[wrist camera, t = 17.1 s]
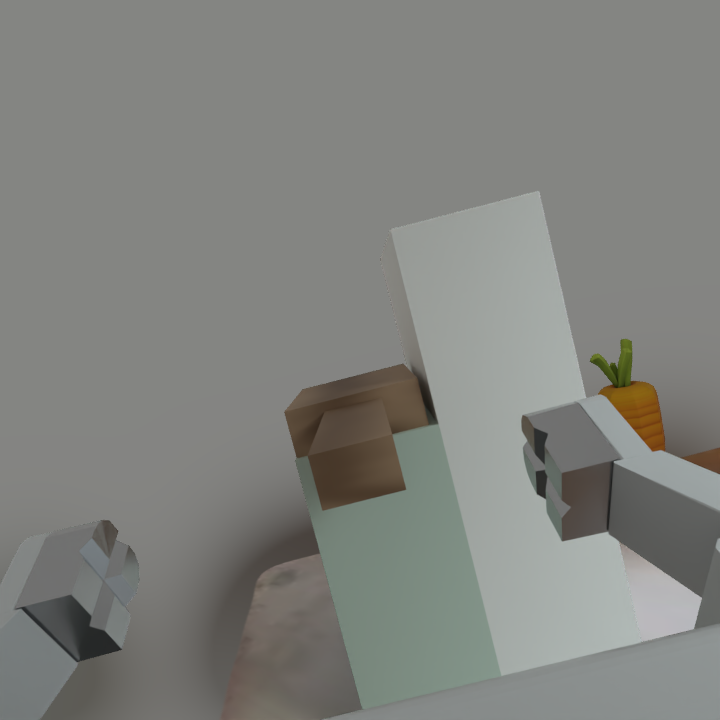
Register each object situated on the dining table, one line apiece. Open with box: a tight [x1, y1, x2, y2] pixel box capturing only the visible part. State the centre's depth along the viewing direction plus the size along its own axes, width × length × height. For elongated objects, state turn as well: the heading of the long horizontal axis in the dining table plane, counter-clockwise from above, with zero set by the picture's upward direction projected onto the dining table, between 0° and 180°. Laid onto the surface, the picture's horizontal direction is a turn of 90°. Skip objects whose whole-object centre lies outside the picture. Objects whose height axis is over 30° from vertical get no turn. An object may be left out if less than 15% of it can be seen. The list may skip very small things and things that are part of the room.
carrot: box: [590, 339, 665, 452], centre depth 45 cm, size 5×5×15 cm
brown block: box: [285, 364, 429, 511], centre depth 27 cm, size 7×18×2 cm, turn 0°
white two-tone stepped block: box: [295, 191, 642, 709], centre depth 34 cm, size 15×13×26 cm
